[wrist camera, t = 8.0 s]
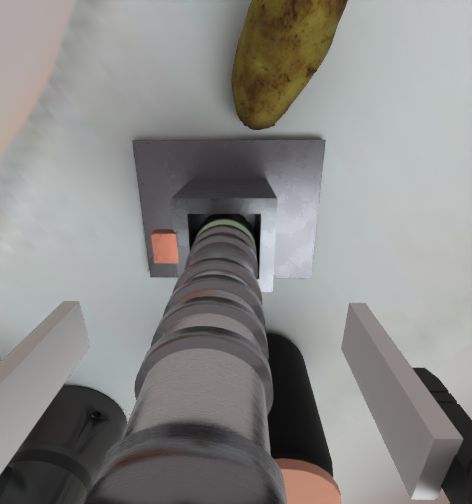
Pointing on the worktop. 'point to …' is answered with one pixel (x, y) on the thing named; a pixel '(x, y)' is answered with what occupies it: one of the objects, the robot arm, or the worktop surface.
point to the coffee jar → (298, 429)
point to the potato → (280, 55)
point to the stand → (231, 199)
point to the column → (202, 389)
